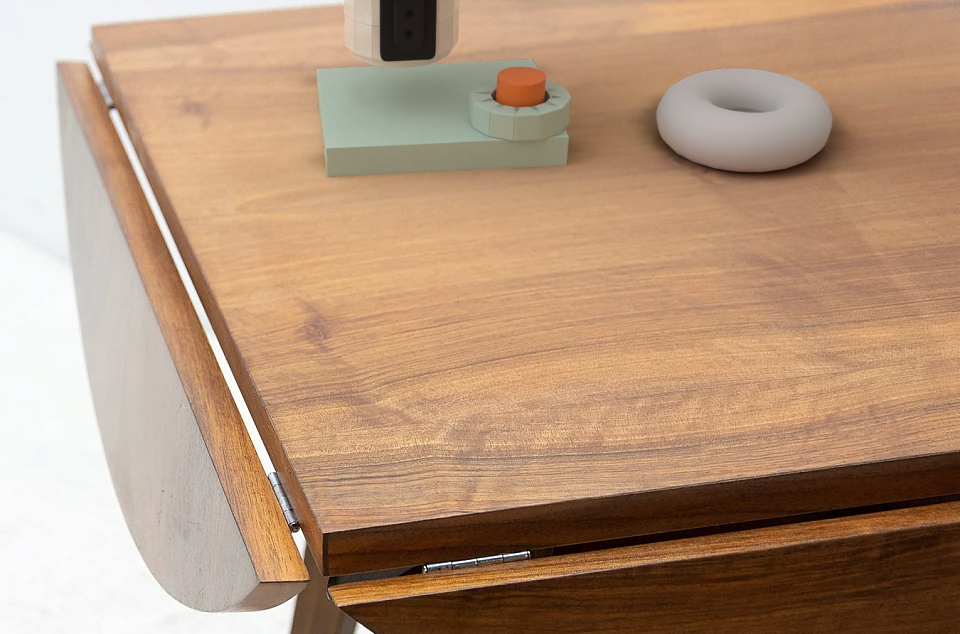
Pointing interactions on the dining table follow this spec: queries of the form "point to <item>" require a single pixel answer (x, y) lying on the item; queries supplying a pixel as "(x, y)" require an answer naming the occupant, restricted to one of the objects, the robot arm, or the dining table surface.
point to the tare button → (520, 87)
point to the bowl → (365, 32)
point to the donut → (744, 120)
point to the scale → (436, 120)
